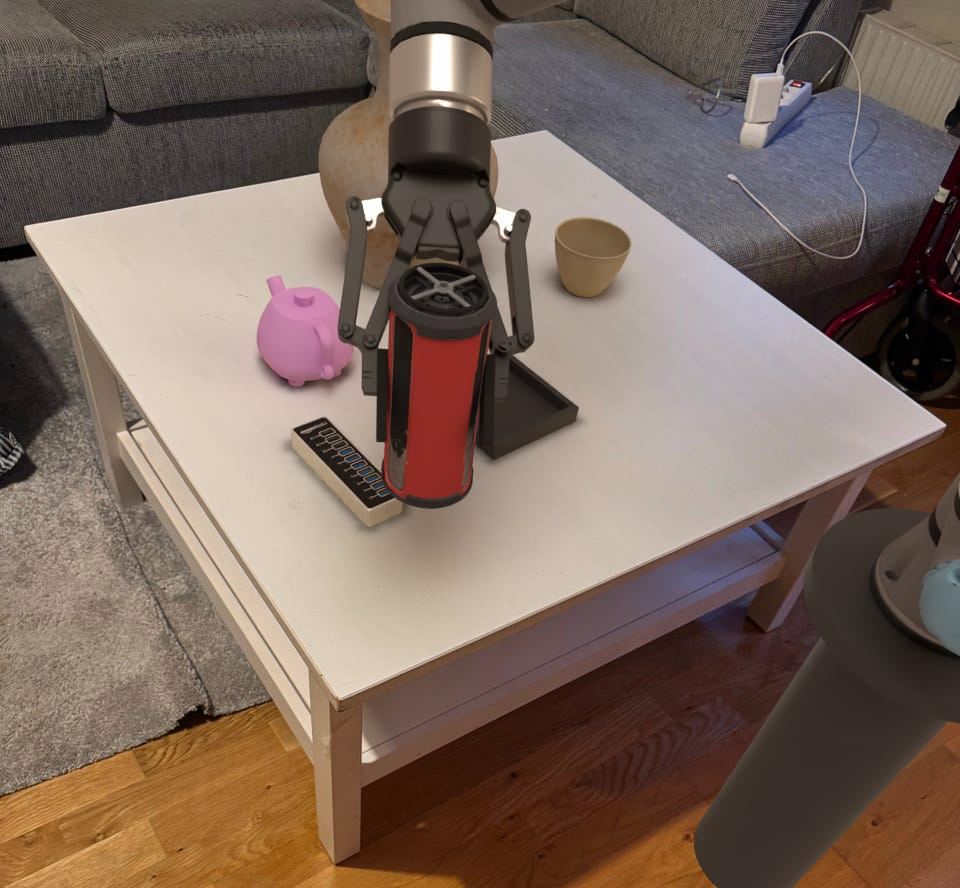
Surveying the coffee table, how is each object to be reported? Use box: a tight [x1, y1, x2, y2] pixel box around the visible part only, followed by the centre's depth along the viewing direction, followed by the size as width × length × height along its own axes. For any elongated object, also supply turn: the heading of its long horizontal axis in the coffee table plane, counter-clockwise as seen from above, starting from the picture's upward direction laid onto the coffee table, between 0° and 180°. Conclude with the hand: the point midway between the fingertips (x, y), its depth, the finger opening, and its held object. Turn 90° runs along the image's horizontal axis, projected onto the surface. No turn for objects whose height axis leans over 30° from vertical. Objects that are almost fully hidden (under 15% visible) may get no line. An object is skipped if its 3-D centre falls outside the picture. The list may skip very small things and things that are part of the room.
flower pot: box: [554, 216, 633, 298], centre depth 120 cm, size 10×10×7 cm
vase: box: [317, 0, 499, 290], centre depth 110 cm, size 22×22×30 cm
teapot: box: [256, 274, 354, 387], centre depth 102 cm, size 10×15×9 cm
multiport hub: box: [290, 416, 404, 528], centre depth 94 cm, size 4×14×2 cm, turn 39°
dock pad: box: [475, 355, 580, 461], centre depth 104 cm, size 13×13×2 cm
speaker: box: [380, 263, 498, 510], centre depth 70 cm, size 8×8×18 cm
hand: (434, 442), depth 70 cm, fingers closed on speaker, 7 cm apart
